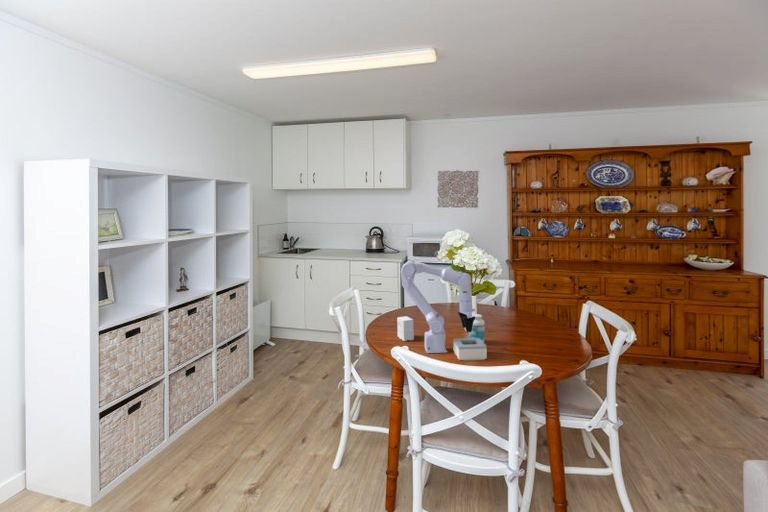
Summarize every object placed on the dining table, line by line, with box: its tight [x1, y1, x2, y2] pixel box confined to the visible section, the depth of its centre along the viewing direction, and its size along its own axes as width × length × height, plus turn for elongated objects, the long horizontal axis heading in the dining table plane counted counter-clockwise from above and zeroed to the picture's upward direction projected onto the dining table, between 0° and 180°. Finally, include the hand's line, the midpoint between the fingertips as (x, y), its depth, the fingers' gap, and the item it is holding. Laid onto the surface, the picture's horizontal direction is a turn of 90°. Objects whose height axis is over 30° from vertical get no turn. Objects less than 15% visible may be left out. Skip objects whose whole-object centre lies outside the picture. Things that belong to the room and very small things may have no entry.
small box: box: [396, 315, 415, 342], centre depth 211 cm, size 8×6×10 cm
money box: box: [452, 337, 488, 361], centre depth 186 cm, size 12×12×6 cm
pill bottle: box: [468, 313, 486, 344], centre depth 204 cm, size 8×7×14 cm
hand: (467, 329), depth 190 cm, fingers open, 7 cm apart
